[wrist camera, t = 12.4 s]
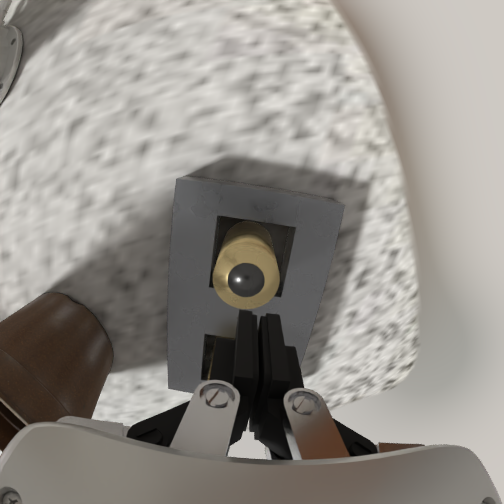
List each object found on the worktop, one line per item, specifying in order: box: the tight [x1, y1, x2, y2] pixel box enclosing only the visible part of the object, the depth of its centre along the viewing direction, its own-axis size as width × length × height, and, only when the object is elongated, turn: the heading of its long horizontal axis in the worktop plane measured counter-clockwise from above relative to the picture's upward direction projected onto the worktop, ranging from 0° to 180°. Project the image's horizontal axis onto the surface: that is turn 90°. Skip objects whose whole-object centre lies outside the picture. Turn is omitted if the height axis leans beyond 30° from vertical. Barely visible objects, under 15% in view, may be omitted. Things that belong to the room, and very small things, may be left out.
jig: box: [167, 176, 345, 393], centre depth 22 cm, size 20×12×7 cm, turn 171°
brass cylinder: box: [213, 221, 280, 309], centre depth 20 cm, size 4×4×7 cm
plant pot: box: [0, 293, 113, 452], centre depth 20 cm, size 16×16×16 cm
